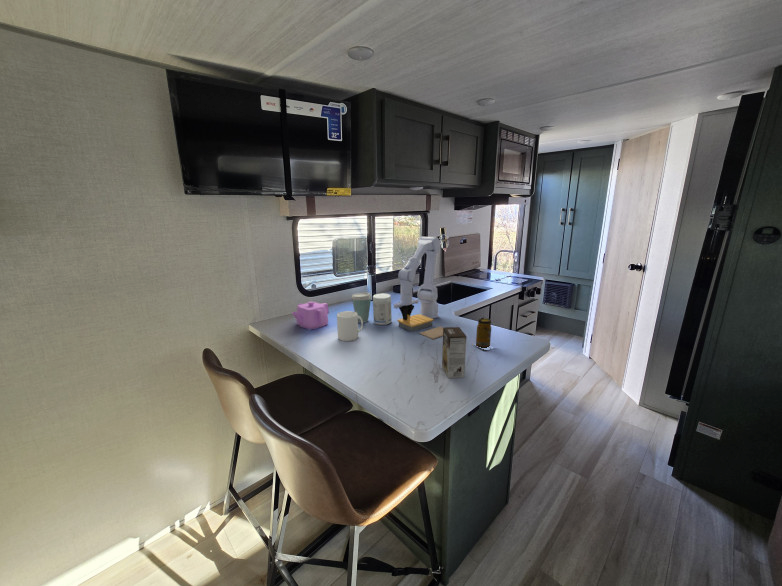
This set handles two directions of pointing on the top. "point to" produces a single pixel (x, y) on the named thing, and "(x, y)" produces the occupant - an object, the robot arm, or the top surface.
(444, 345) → the coffee box
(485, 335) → the condiment
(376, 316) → the supplement tub
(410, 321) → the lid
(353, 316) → the mug
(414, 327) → the parts tub
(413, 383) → the top surface
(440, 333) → the mat
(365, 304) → the disposable coffee cup
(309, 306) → the teakettle
